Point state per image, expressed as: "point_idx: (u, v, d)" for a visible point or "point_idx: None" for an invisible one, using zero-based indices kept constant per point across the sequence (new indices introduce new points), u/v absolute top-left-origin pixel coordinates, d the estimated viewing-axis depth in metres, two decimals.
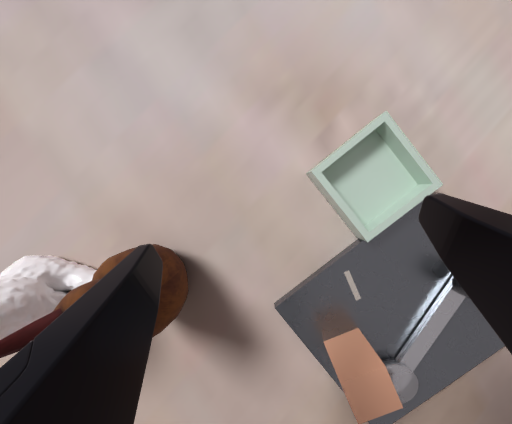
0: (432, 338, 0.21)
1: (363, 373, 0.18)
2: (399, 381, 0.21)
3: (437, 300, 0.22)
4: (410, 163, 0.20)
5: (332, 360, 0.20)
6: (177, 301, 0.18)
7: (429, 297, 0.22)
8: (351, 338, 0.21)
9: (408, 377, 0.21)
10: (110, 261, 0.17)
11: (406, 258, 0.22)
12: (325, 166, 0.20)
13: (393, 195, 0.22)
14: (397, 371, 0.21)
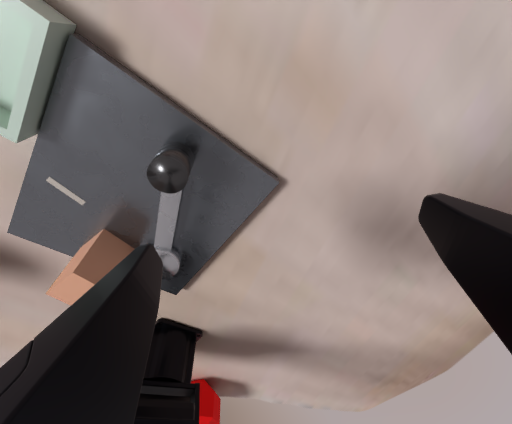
0: (172, 221, 0.20)
1: (60, 281, 0.17)
2: None
3: None
4: None
5: None
6: None
7: None
8: (90, 242, 0.20)
9: (164, 258, 0.22)
10: None
11: (105, 145, 0.17)
12: None
13: None
14: None
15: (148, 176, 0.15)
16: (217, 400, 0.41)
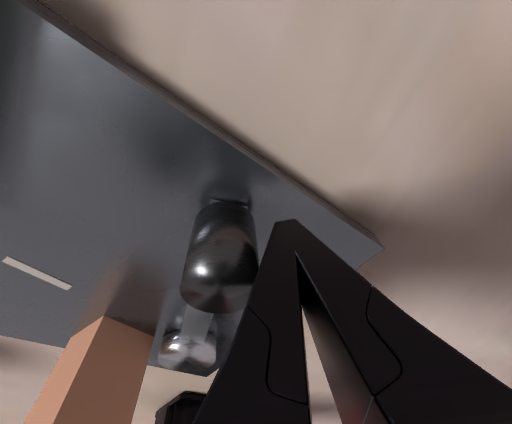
0: None
1: None
2: (186, 357, 0.15)
3: None
4: None
5: (44, 387, 0.13)
6: None
7: None
8: (84, 340, 0.13)
9: (195, 352, 0.15)
10: None
11: (97, 208, 0.10)
12: None
13: None
14: (177, 351, 0.15)
15: (182, 293, 0.07)
16: None
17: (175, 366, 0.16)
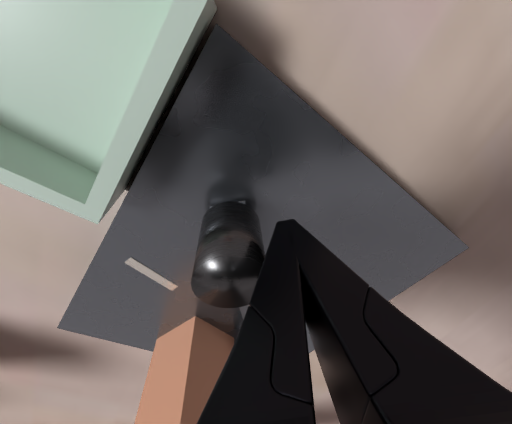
0: None
1: None
2: None
3: None
4: None
5: (145, 385, 0.13)
6: None
7: None
8: (180, 340, 0.14)
9: None
10: None
11: None
12: None
13: (135, 70, 0.08)
14: None
15: (199, 296, 0.08)
16: None
17: None
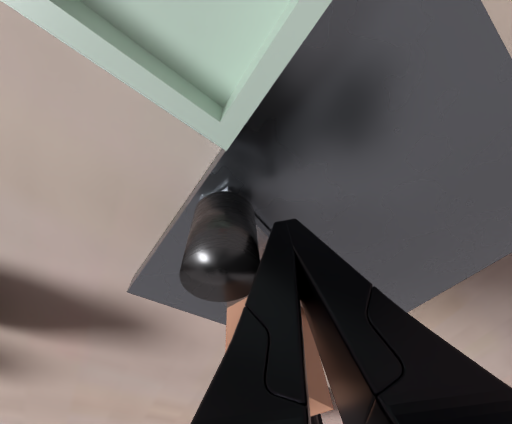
0: None
1: None
2: None
3: None
4: None
5: None
6: None
7: (396, 212, 0.11)
8: None
9: None
10: None
11: (347, 151, 0.09)
12: None
13: None
14: None
15: (201, 297, 0.08)
16: None
17: None
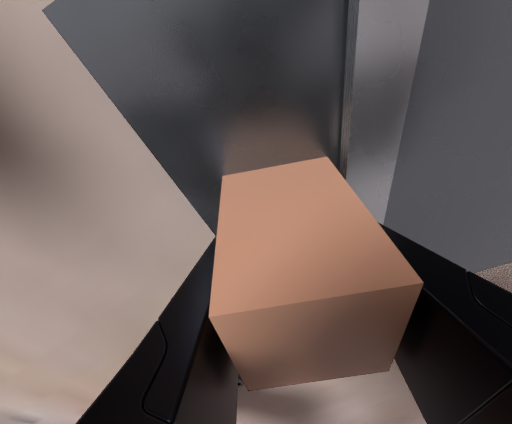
0: (386, 166, 0.07)
1: (319, 294, 0.04)
2: None
3: (348, 55, 0.06)
4: None
5: (222, 225, 0.06)
6: None
7: None
8: (301, 177, 0.07)
9: None
10: None
11: None
12: None
13: None
14: None
15: None
16: None
17: None
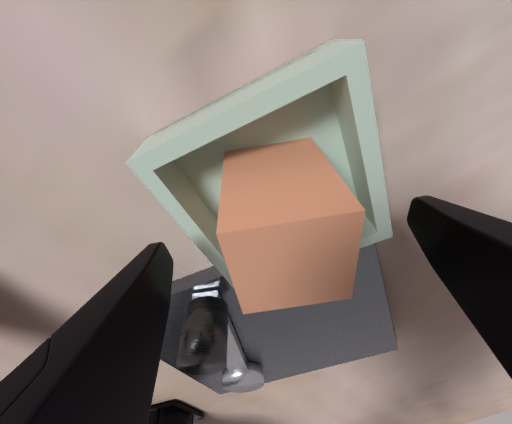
0: (235, 351, 0.17)
1: (294, 219, 0.06)
2: (241, 383, 0.20)
3: None
4: (360, 182, 0.10)
5: (225, 183, 0.08)
6: None
7: (307, 326, 0.17)
8: (288, 151, 0.09)
9: (245, 378, 0.20)
10: None
11: None
12: (164, 159, 0.08)
13: None
14: (231, 380, 0.20)
15: (182, 370, 0.12)
16: None
17: (238, 390, 0.21)
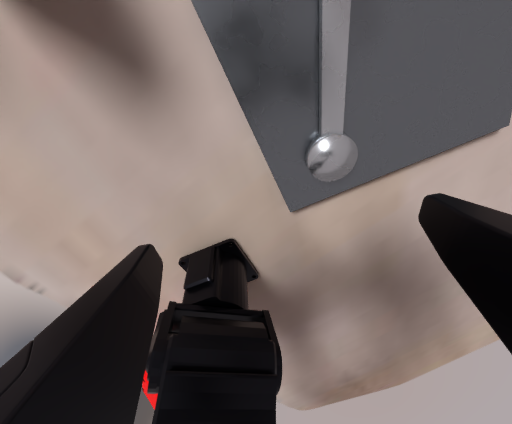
0: (341, 76, 0.15)
1: None
2: (332, 155, 0.17)
3: (320, 17, 0.13)
4: None
5: None
6: None
7: (425, 48, 0.15)
8: None
9: (339, 144, 0.17)
10: None
11: None
12: None
13: None
14: (323, 147, 0.17)
15: None
16: None
17: (324, 174, 0.18)
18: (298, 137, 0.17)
